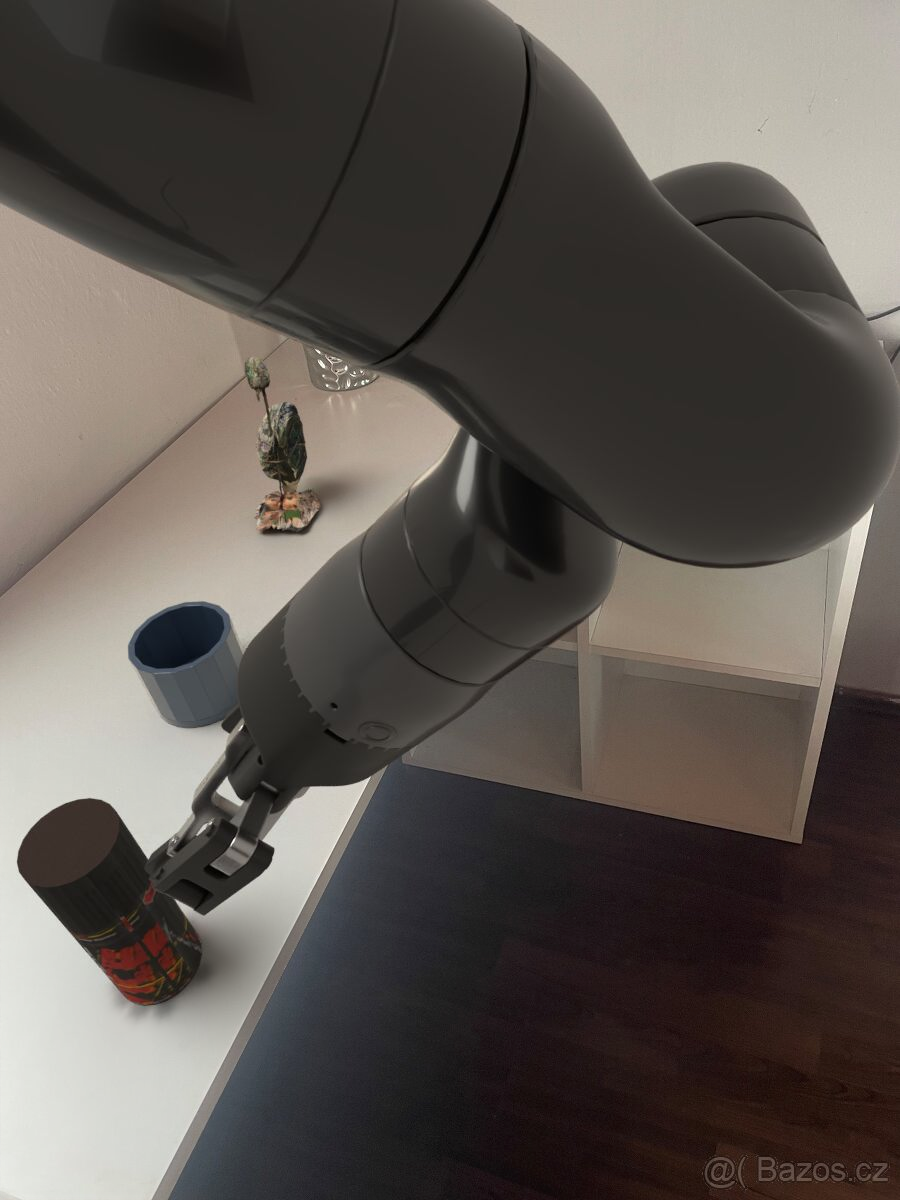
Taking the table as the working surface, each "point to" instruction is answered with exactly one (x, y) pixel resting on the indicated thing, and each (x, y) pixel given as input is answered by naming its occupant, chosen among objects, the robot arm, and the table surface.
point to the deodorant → (110, 900)
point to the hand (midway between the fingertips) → (204, 798)
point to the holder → (188, 662)
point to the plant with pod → (281, 459)
